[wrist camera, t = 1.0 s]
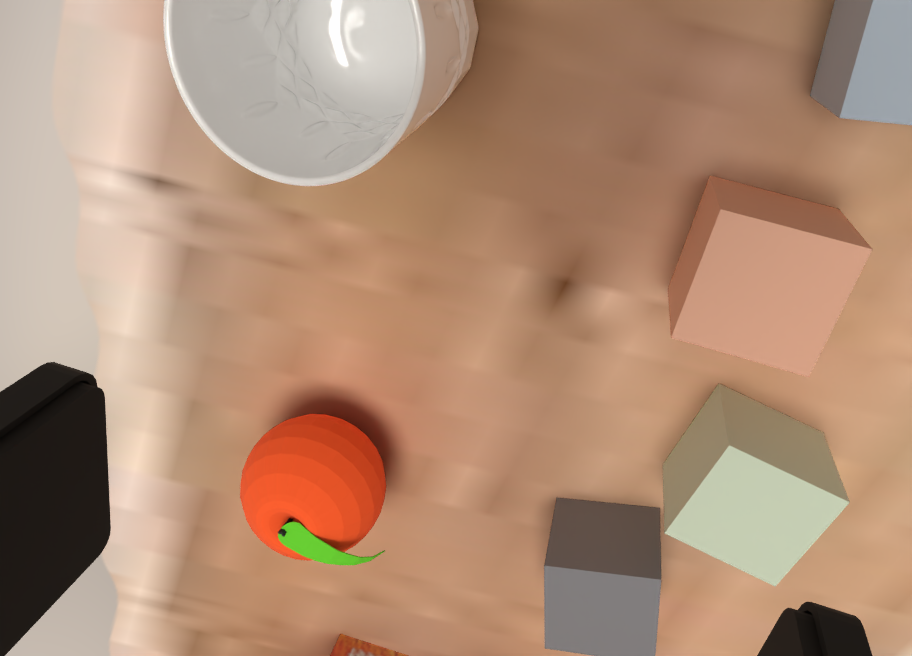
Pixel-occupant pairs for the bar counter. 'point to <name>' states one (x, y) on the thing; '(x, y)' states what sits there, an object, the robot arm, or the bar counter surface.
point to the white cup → (316, 77)
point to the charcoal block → (602, 578)
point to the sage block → (750, 486)
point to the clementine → (313, 489)
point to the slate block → (867, 61)
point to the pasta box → (359, 648)
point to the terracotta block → (764, 275)
